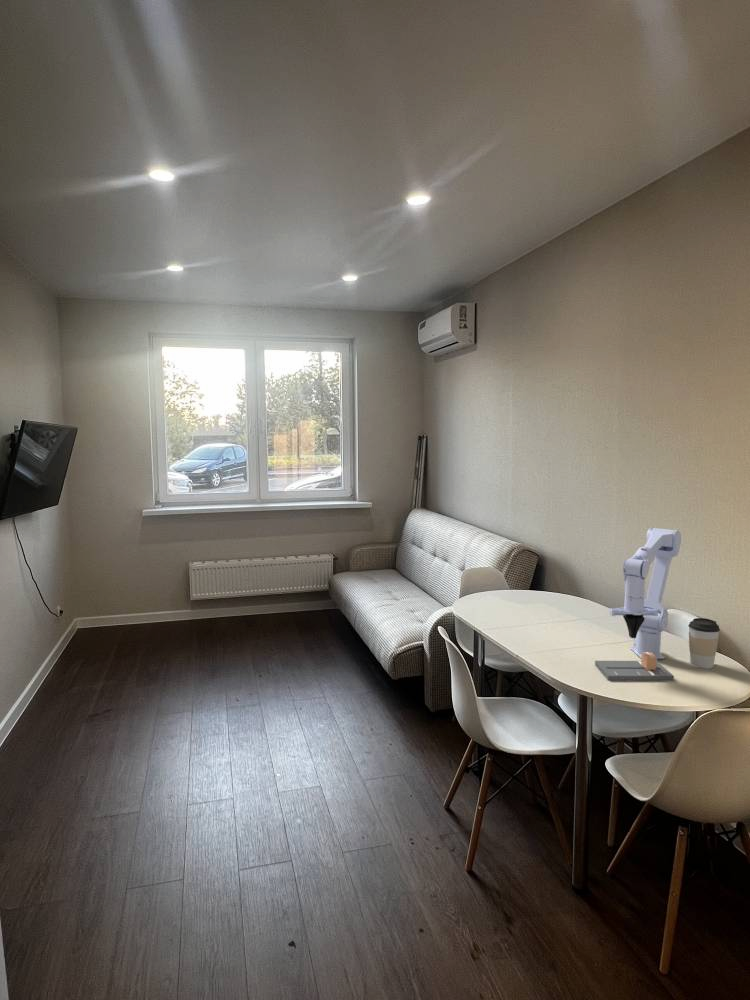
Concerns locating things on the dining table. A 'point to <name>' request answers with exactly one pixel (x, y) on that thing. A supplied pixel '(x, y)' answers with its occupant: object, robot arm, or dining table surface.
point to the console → (632, 671)
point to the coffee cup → (703, 642)
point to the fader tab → (649, 660)
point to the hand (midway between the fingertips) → (632, 637)
